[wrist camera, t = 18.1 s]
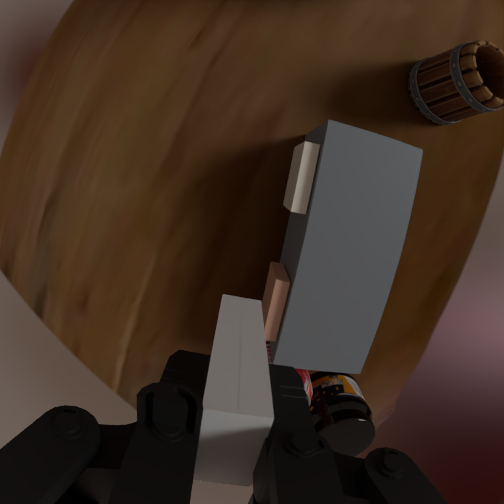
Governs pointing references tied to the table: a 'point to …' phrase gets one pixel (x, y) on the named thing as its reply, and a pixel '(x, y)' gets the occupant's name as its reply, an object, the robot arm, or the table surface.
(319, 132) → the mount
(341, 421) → the supplement container
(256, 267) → the table surface
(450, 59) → the mug
